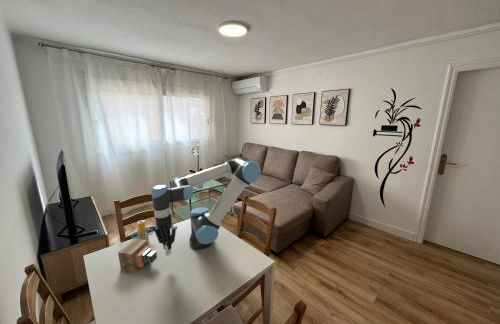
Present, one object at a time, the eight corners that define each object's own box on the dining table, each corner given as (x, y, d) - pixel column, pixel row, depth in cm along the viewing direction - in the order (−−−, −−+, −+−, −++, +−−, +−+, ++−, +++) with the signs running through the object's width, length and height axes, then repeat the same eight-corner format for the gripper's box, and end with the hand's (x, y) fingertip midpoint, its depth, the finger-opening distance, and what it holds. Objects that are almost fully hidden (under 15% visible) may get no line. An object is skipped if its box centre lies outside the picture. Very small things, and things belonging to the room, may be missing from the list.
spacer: (151, 257, 115) (149, 246, 113) (141, 267, 107) (140, 255, 105) (146, 257, 115) (144, 245, 113) (136, 266, 108) (134, 254, 106)
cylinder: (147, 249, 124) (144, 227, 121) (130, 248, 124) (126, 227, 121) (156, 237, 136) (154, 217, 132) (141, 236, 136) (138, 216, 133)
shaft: (157, 257, 112) (156, 249, 111) (151, 264, 107) (150, 256, 106) (129, 253, 115) (128, 245, 114) (122, 259, 110) (120, 251, 109)
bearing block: (149, 256, 118) (147, 240, 115) (134, 272, 106) (131, 254, 103) (137, 254, 119) (134, 238, 116) (120, 270, 108) (117, 252, 105)
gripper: (178, 212, 106) (183, 250, 112) (155, 210, 108) (161, 248, 114) (171, 219, 99) (176, 260, 105) (146, 217, 101) (153, 257, 107)
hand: (168, 254), depth 109 cm, fingers closed
